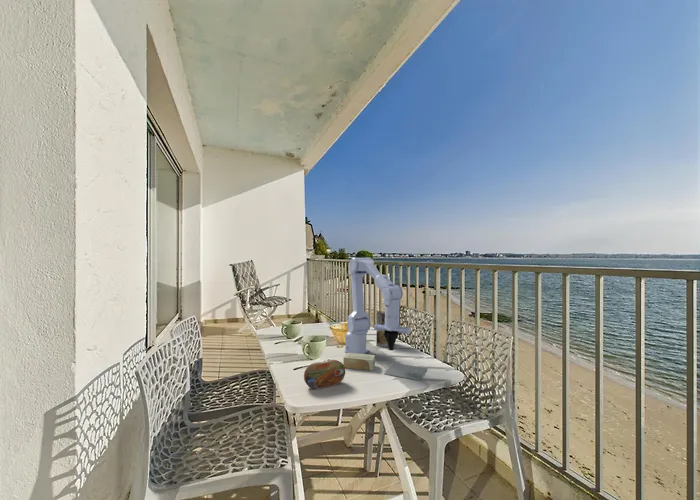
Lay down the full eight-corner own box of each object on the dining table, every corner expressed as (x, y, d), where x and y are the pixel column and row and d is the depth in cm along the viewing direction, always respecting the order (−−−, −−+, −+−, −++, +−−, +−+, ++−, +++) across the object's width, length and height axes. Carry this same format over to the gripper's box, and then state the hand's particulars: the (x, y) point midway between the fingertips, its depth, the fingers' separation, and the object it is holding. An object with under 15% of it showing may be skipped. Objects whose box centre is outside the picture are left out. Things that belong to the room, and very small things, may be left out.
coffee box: (394, 343, 163) (394, 311, 163) (394, 347, 157) (395, 314, 156) (376, 342, 164) (376, 311, 164) (375, 346, 158) (376, 313, 157)
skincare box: (375, 365, 132) (346, 362, 135) (375, 354, 132) (346, 352, 134) (372, 371, 125) (342, 368, 128) (372, 360, 125) (342, 357, 128)
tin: (305, 391, 107) (306, 366, 107) (302, 387, 110) (303, 363, 110) (345, 383, 114) (346, 359, 114) (341, 380, 117) (342, 357, 117)
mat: (384, 374, 122) (384, 373, 122) (393, 363, 134) (393, 362, 134) (420, 381, 117) (420, 380, 117) (426, 368, 129) (427, 368, 129)
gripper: (371, 315, 127) (370, 349, 127) (407, 319, 121) (406, 355, 122) (377, 312, 134) (376, 344, 134) (411, 316, 128) (410, 349, 128)
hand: (391, 349), depth 128 cm, fingers closed
